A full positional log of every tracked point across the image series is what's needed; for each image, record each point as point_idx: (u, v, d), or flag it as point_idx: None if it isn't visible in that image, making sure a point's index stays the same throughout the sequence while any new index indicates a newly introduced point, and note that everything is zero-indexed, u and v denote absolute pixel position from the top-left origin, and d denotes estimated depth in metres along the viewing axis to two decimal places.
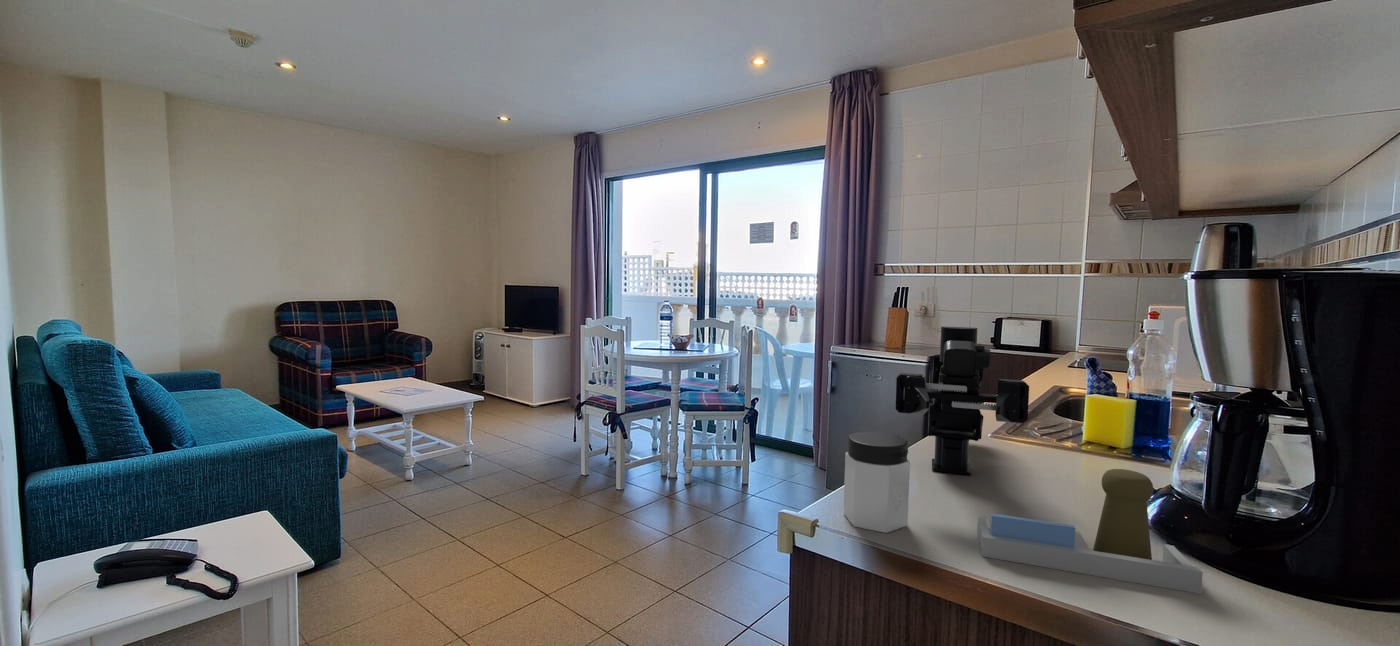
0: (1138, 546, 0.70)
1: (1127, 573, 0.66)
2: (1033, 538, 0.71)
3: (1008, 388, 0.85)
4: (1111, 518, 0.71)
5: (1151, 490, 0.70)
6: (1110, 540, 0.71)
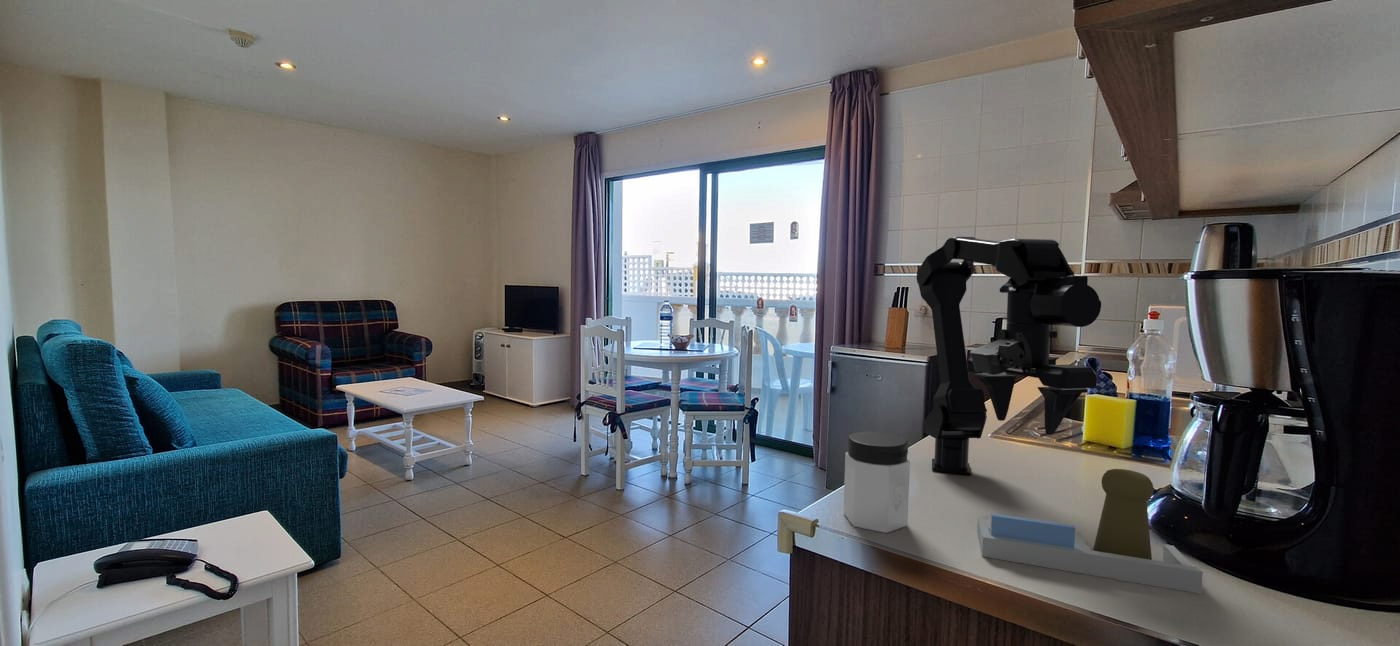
0: (1138, 546, 0.70)
1: (1127, 573, 0.66)
2: (1033, 538, 0.71)
3: (1049, 394, 0.79)
4: (1111, 518, 0.71)
5: (1151, 490, 0.70)
6: (1110, 540, 0.71)
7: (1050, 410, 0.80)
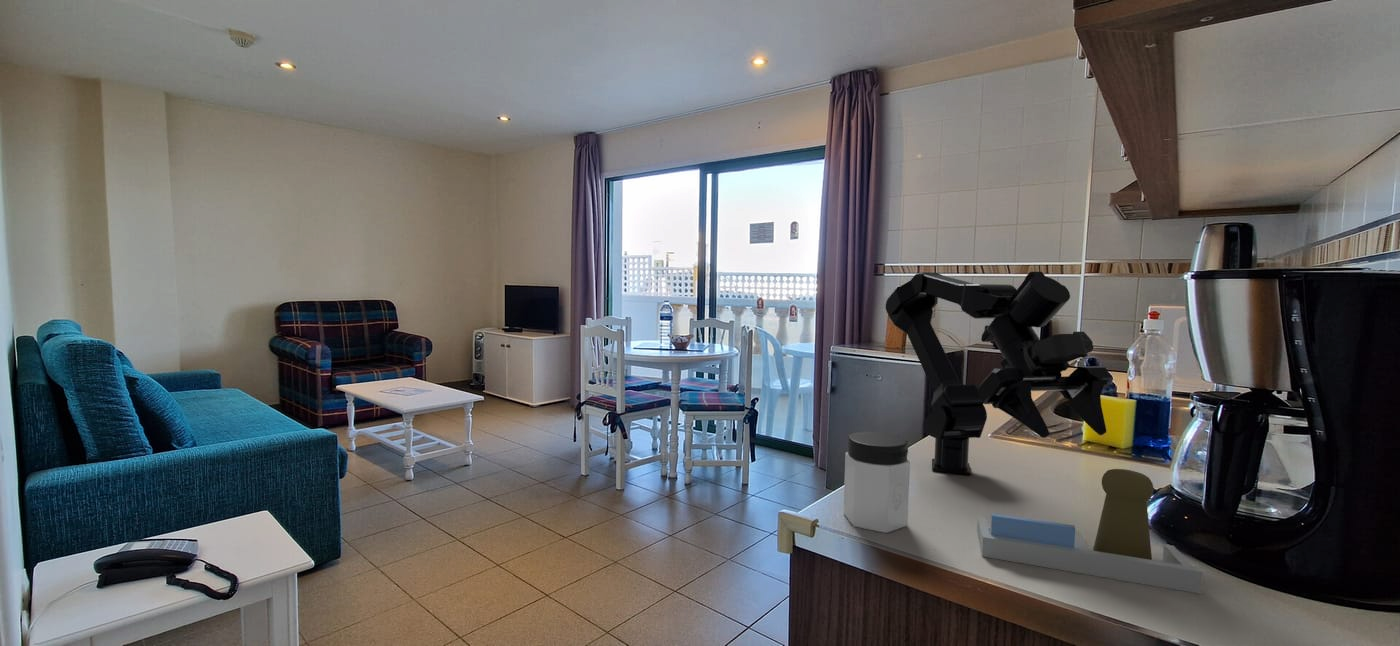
0: (1138, 546, 0.70)
1: (1127, 573, 0.66)
2: (1033, 538, 0.71)
3: (1100, 388, 0.83)
4: (1111, 518, 0.71)
5: (1151, 490, 0.70)
6: (1110, 540, 0.71)
7: (1100, 406, 0.82)
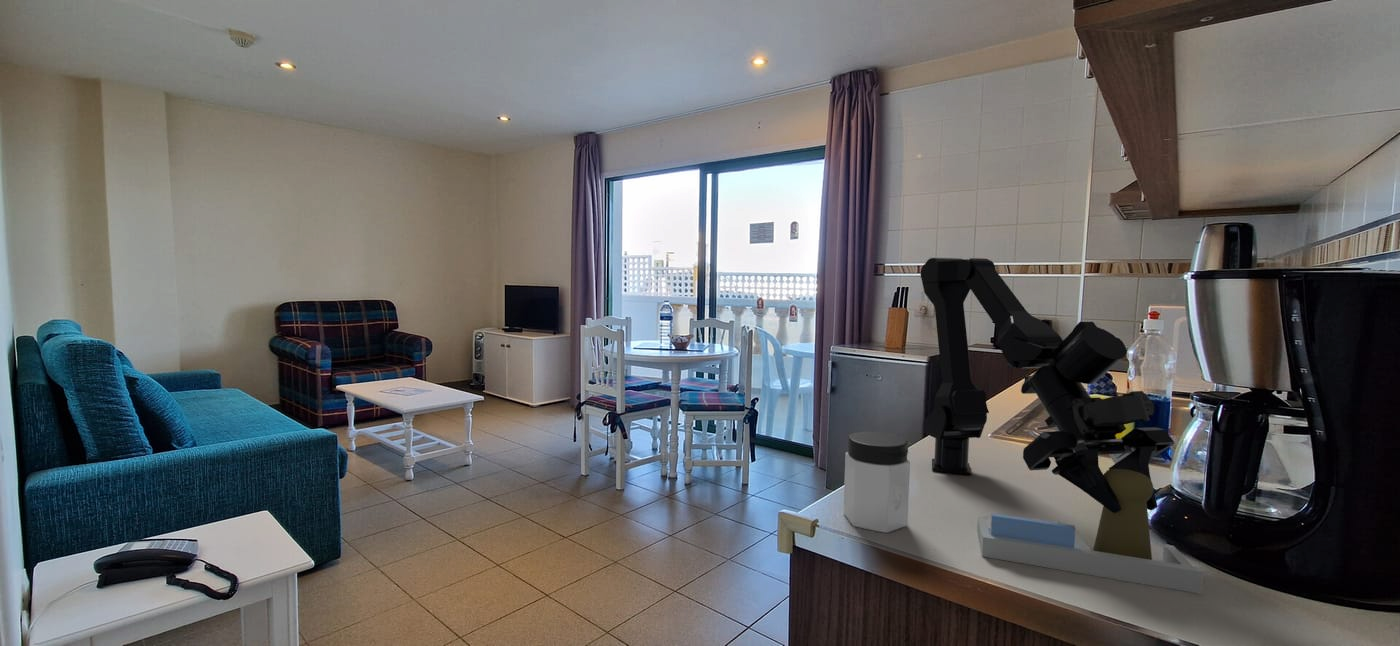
0: (1138, 546, 0.70)
1: (1127, 573, 0.66)
2: (1033, 538, 0.71)
3: (1148, 455, 0.74)
4: (1111, 518, 0.71)
5: (1151, 490, 0.70)
6: (1110, 540, 0.71)
7: (1148, 476, 0.73)
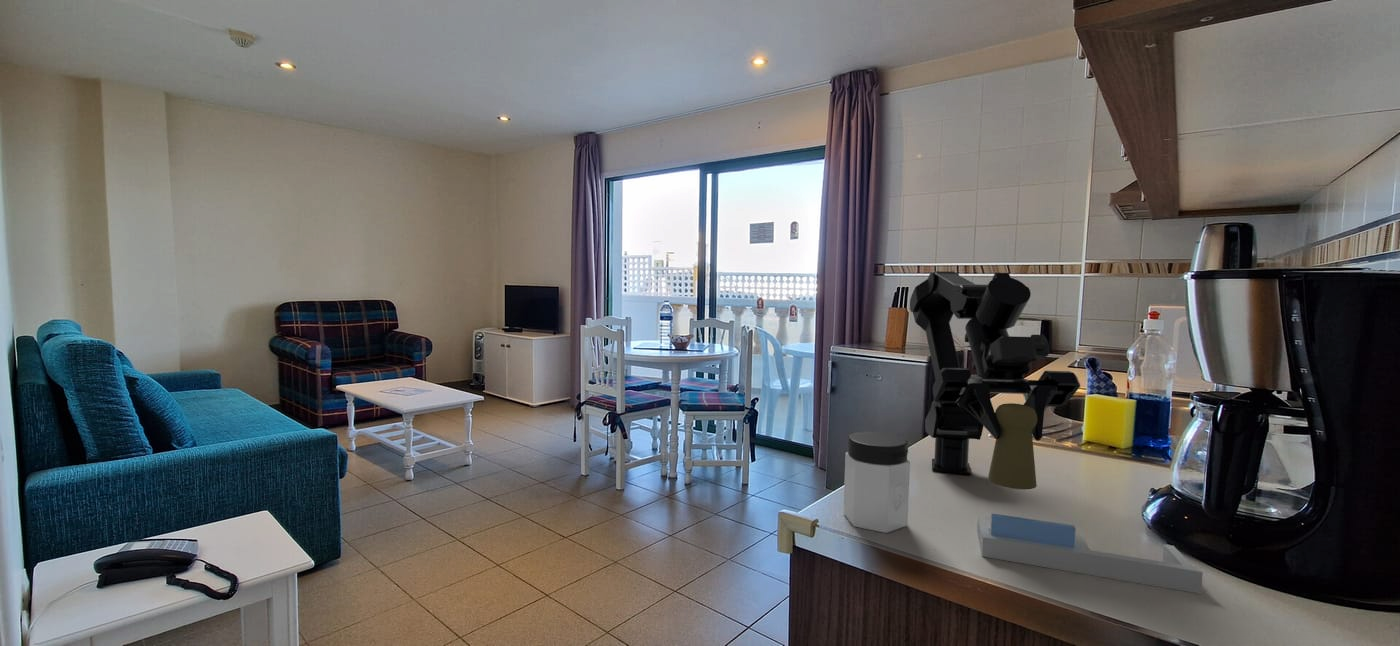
0: (1016, 469, 0.78)
1: (1127, 573, 0.66)
2: (1033, 538, 0.71)
3: (1047, 393, 0.80)
4: (997, 444, 0.80)
5: (1031, 420, 0.77)
6: (995, 464, 0.80)
7: (1042, 412, 0.80)
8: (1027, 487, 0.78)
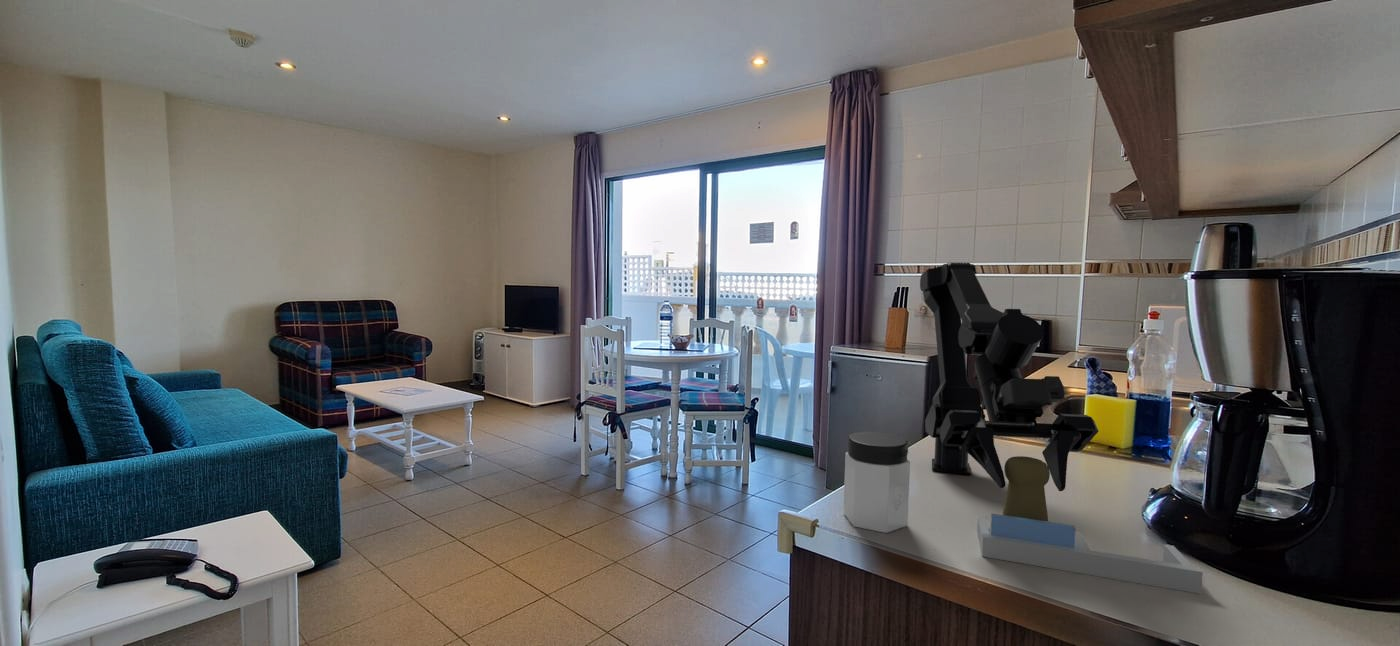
0: None
1: (1127, 573, 0.66)
2: (1033, 538, 0.71)
3: (1070, 439, 0.75)
4: (1007, 501, 0.75)
5: (1042, 476, 0.73)
6: None
7: (1065, 459, 0.75)
8: None
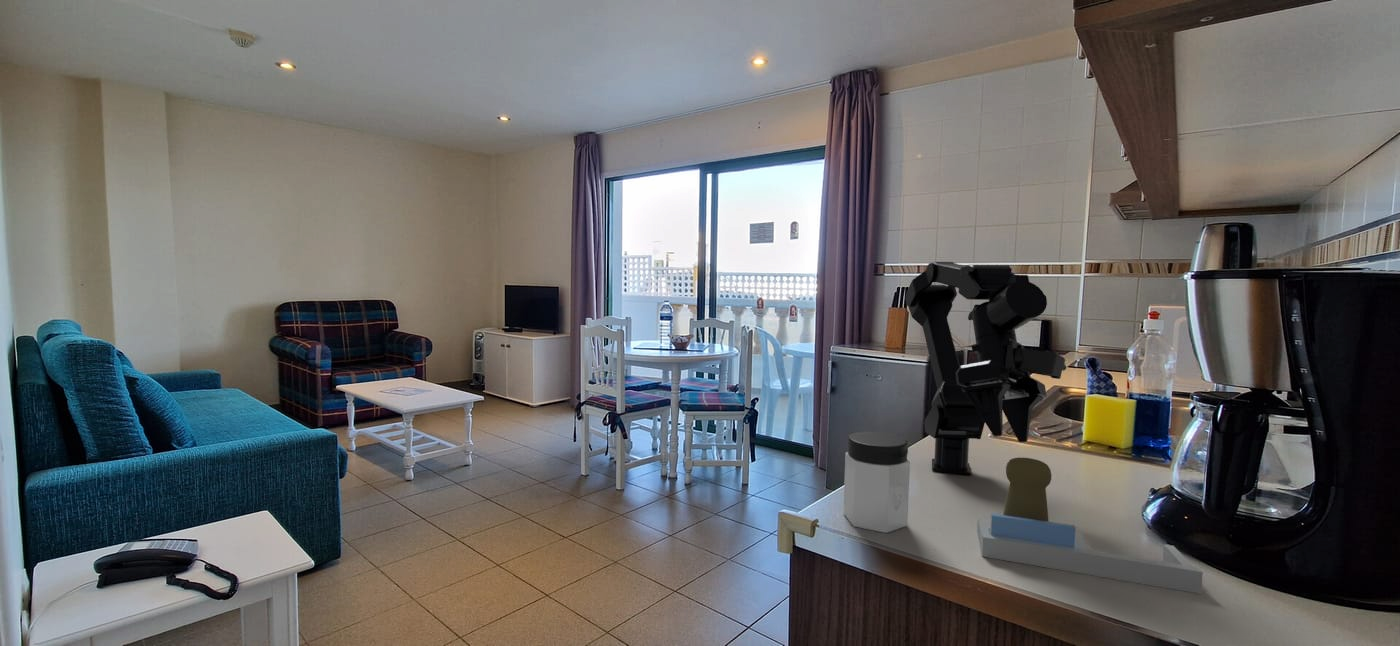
0: None
1: (1127, 573, 0.66)
2: (1033, 538, 0.71)
3: (1037, 402, 0.90)
4: (1008, 502, 0.75)
5: (1044, 478, 0.73)
6: None
7: (1029, 418, 0.89)
8: None
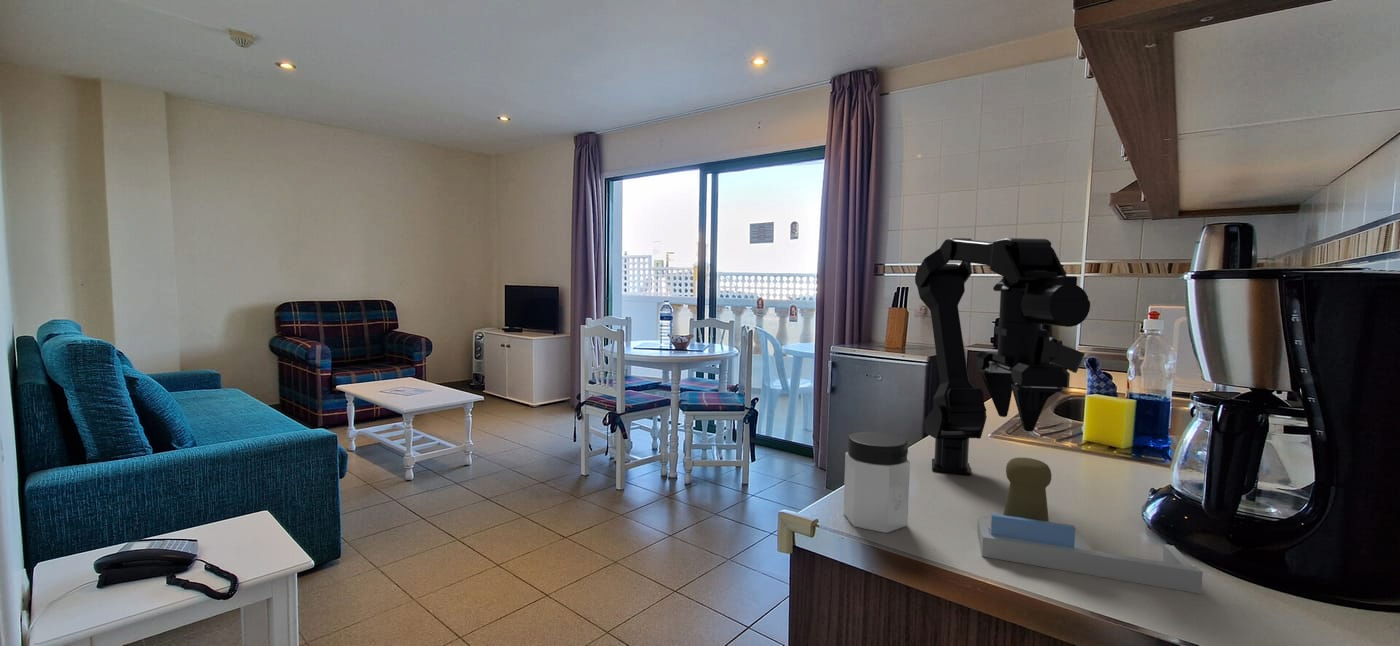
0: None
1: (1127, 573, 0.66)
2: (1033, 538, 0.71)
3: None
4: (1008, 502, 0.75)
5: (1044, 478, 0.73)
6: None
7: None
8: None
